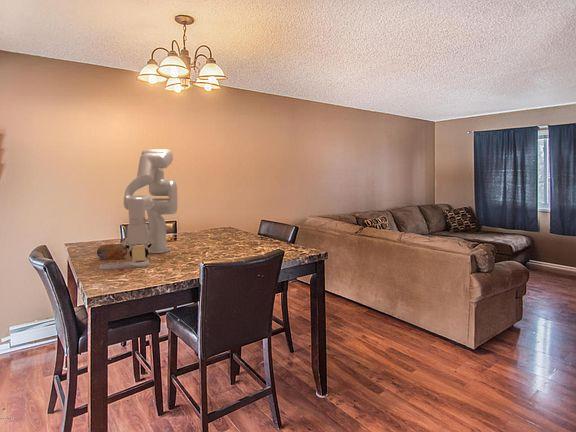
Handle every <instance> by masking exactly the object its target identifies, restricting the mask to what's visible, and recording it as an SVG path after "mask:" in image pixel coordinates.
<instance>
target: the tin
mask: <svg viewBox="0 0 576 432" xmlns="http://www.w3.org/2000/svg"><path fill="white" fill-rule="evenodd" d="M127 254H128V249H127V248H126V247H125V246H124V245H122V243H111V244H109V243H108V244H102V245H100V246H99V247H98V248H97V249H96V255H97V257H98V258H99V259H101V260H102V261H113V260H122V259H124V258H125V257H126V256H127Z"/></svg>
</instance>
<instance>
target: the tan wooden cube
mask: <svg viewBox="0 0 576 432" xmlns="http://www.w3.org/2000/svg"><path fill="white" fill-rule="evenodd" d="M146 259H147V257H146V256H145V246H144V245H139V246H138V245H134V246H133V247H132V258H131V261H138V260H146Z"/></svg>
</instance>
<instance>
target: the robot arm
mask: <svg viewBox="0 0 576 432" xmlns="http://www.w3.org/2000/svg"><path fill="white" fill-rule="evenodd" d="M173 161H174V154H173V152H172V150H171V149H167V148H166V149H164V148H163V149H162V148H150V149H149V148H148V149H143V150H142V151H141V155H140V158H139V161H138V166H137V167H138V168H137V173H136V177H135V178H134V179H133V180H132V181H130V183H129V184H128V185H127V187H126V188H125V191H124V196H123V207H124V209H126V210H128V224H127V229H126V230H127V231H126V238H125V239H124V240H123V241H122V242H121V244H122V245H124V246H125V247H126V248H127V250H129V257H131V259H132V248H133V247H134V246H138V245H139V246H140V245H143V246H145V256H146V258H148V256H149V254H164V253H168V252H170V250H171V249H170V247H168V246H167V225H166V224H167V223H166V219H165V218H164V217H163V216H162V215H166V216H167V215H175V214H176V213H177V211H178V185H177V182H176V181H174V180H172V179H165V172H164V169H167V168H168V167H169V166H171V164H172V162H173ZM146 186H148V193H149V194H150V196H149V195H134V193H135V192H137V191H138V190H140V189H142V188H144V187H146ZM151 196H152V197H151ZM153 197H155V198H153ZM157 197H160V198H157ZM161 197H163V198H161ZM164 197H165V198H164ZM167 197H168V198H167ZM146 214H147V218H146ZM147 223H148V224H147Z"/></svg>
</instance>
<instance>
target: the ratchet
mask: <svg viewBox="0 0 576 432" xmlns="http://www.w3.org/2000/svg"><path fill="white" fill-rule="evenodd" d="M149 266H150V259H148V258H146V260H138V261H132V260H130V261H121V262H110V263H109V262H108V263H100V264H99V267H98V268H99V270H100V271H102V270H115V269H125V268H131V269H133V268H134V269H140V268H147V267H149Z"/></svg>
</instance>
